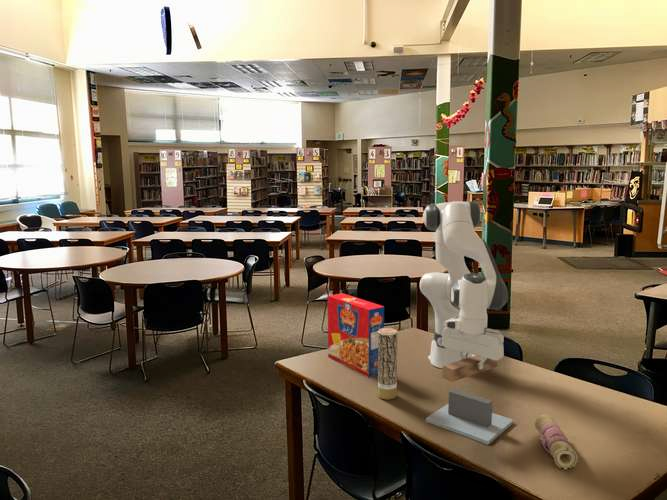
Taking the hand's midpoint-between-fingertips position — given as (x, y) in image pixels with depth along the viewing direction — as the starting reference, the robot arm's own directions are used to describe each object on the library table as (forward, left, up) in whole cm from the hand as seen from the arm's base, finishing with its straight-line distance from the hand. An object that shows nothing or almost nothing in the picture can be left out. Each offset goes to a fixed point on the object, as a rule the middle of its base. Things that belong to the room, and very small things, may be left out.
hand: (471, 366), depth 168 cm
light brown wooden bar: (0, 0, -2) cm, 2 cm away
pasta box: (-14, -61, -20) cm, 66 cm away
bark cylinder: (+2, -32, -20) cm, 38 cm away
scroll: (0, +27, -20) cm, 33 cm away
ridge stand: (0, 0, -19) cm, 19 cm away
